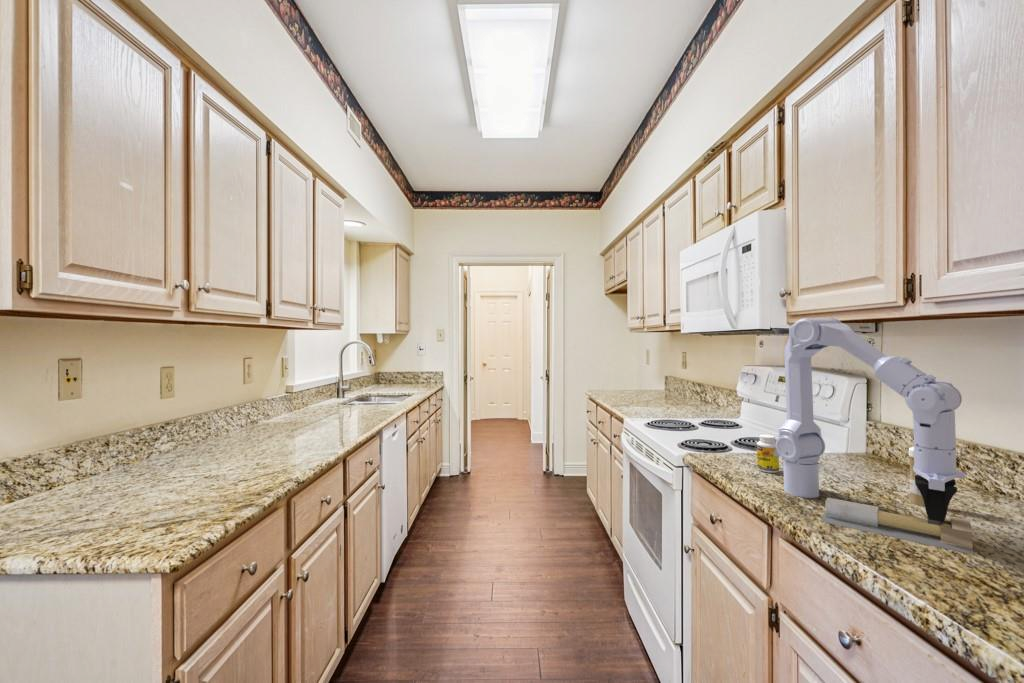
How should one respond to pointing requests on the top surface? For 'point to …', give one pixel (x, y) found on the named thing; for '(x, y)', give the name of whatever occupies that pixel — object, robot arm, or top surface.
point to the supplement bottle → (767, 454)
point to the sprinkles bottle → (914, 491)
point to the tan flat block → (911, 523)
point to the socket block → (957, 532)
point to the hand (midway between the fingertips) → (935, 518)
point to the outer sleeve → (852, 512)
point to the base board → (898, 534)
